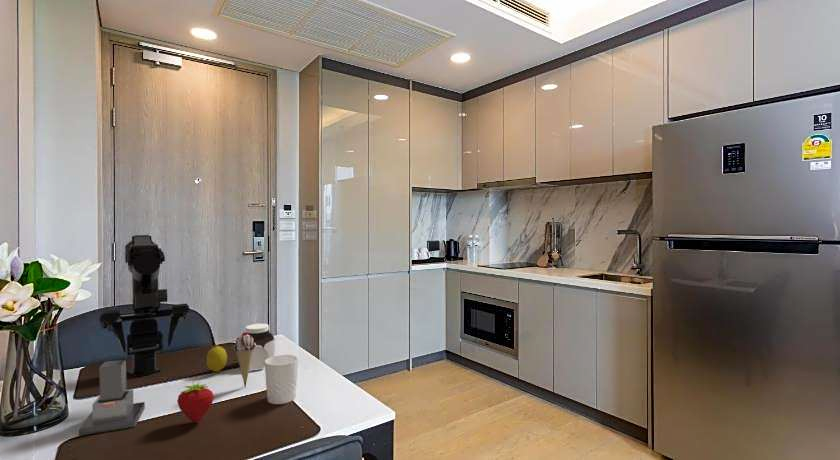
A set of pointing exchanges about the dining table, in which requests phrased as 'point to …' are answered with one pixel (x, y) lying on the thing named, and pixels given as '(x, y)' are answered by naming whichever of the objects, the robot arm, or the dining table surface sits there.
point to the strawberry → (195, 401)
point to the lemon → (216, 359)
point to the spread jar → (261, 345)
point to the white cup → (281, 378)
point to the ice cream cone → (244, 353)
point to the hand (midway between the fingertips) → (147, 349)
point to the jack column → (112, 380)
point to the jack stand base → (112, 415)
